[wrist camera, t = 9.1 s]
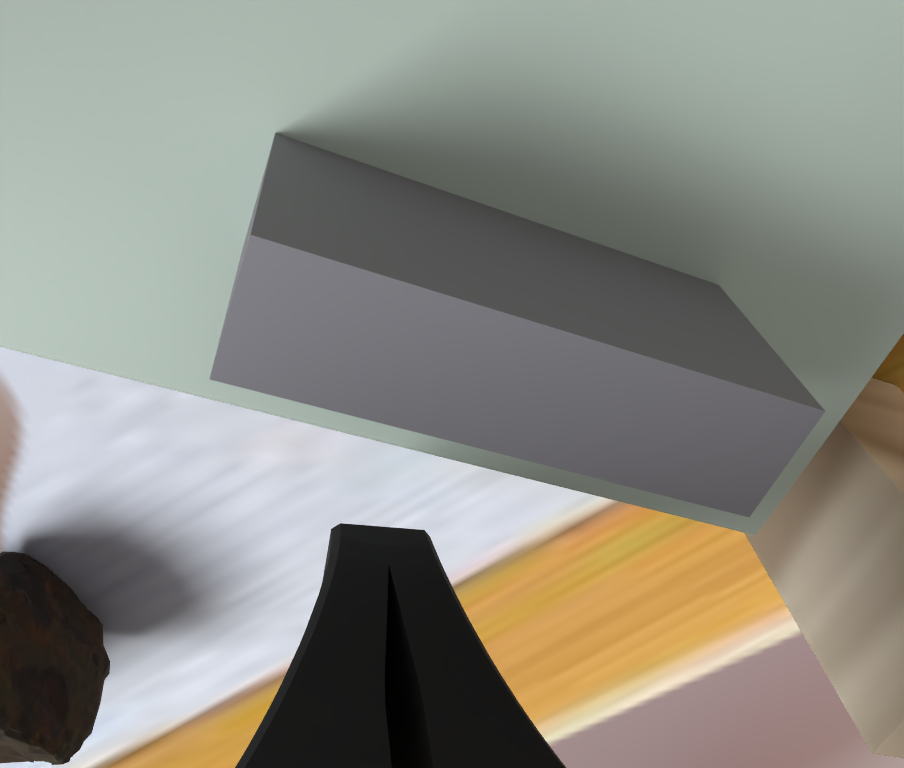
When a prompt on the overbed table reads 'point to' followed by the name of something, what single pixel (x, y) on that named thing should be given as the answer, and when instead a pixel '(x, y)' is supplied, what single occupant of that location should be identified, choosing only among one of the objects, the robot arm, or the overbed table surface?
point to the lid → (472, 223)
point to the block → (850, 561)
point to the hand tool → (46, 664)
